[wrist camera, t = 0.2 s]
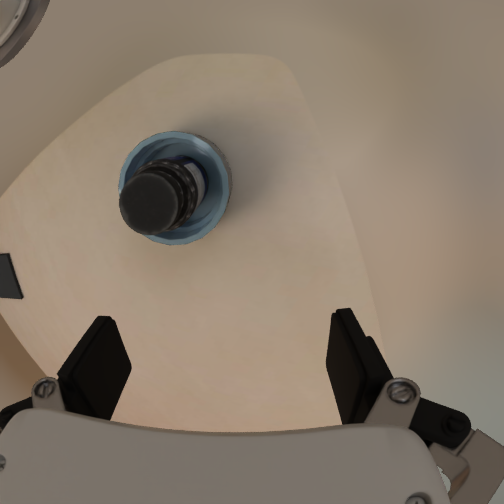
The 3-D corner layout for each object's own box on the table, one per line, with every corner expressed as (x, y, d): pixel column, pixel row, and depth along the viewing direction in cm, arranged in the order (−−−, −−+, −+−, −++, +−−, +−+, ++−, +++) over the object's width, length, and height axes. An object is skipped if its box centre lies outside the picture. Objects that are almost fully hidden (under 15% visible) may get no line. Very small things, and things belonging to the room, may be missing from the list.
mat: (-14, 255, 33) (-16, 256, 32) (9, 253, 33) (6, 254, 32) (-1, 295, 36) (-2, 297, 35) (23, 297, 36) (21, 299, 35)
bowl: (132, 141, 28) (112, 142, 23) (228, 128, 28) (224, 125, 23) (144, 233, 32) (128, 248, 27) (235, 226, 32) (232, 241, 27)
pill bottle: (148, 198, 30) (101, 227, 20) (165, 147, 28) (122, 150, 18) (198, 218, 31) (172, 257, 21) (218, 166, 29) (200, 179, 19)
